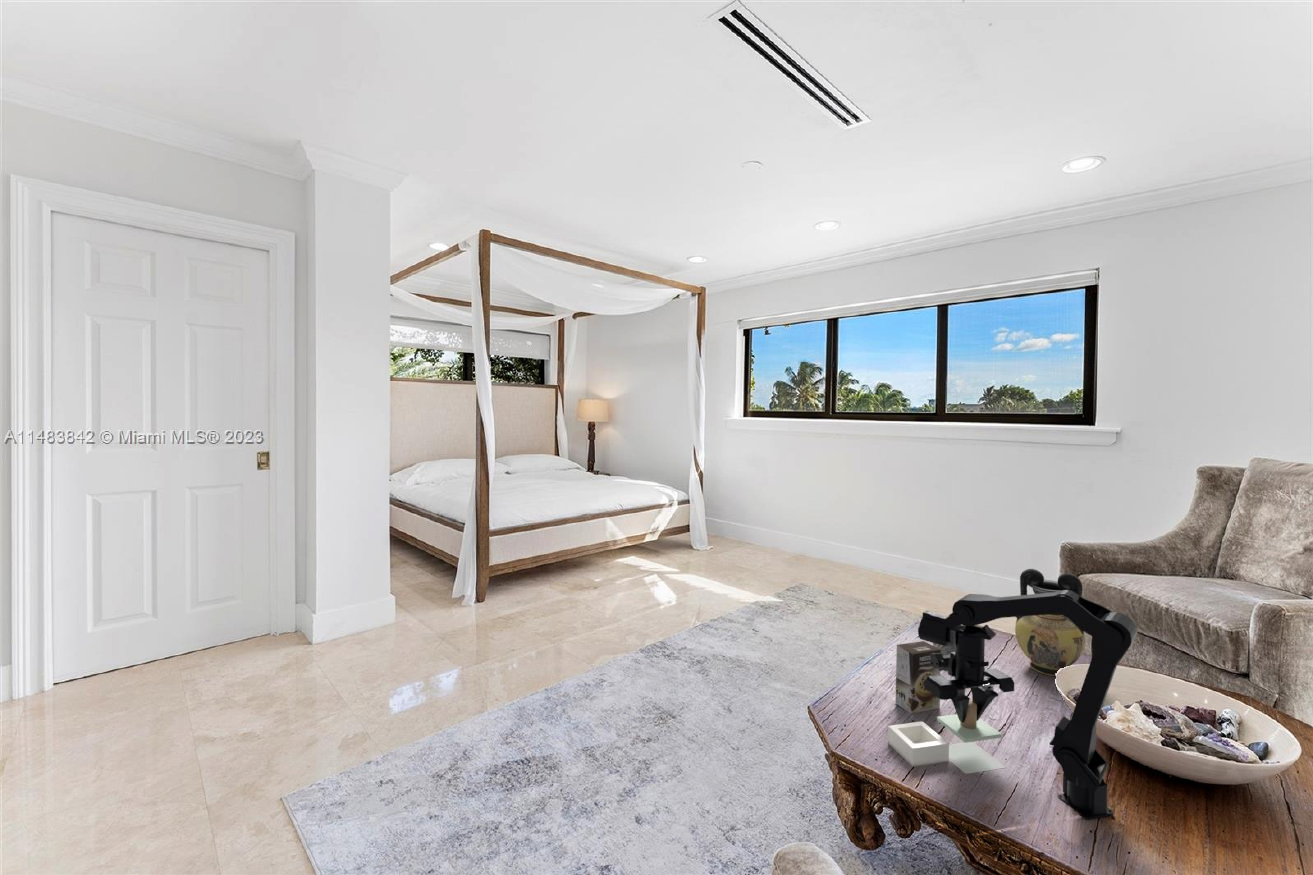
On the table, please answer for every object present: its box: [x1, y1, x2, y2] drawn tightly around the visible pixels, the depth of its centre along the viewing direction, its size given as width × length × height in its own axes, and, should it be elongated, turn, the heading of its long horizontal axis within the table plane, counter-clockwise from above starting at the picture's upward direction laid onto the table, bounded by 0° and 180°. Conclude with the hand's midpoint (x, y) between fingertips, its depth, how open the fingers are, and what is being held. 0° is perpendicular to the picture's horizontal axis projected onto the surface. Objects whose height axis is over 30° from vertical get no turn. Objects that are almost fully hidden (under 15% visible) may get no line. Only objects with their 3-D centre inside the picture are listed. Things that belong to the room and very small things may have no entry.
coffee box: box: [895, 640, 941, 714], centre depth 148 cm, size 9×6×16 cm
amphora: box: [1014, 568, 1086, 677], centre depth 167 cm, size 18×17×30 cm
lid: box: [936, 699, 1002, 743], centre depth 126 cm, size 9×9×6 cm
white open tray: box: [887, 721, 950, 768], centre depth 128 cm, size 9×9×4 cm
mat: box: [949, 741, 1006, 775], centre depth 126 cm, size 10×10×1 cm
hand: (968, 720), depth 126 cm, fingers closed on lid, 3 cm apart
